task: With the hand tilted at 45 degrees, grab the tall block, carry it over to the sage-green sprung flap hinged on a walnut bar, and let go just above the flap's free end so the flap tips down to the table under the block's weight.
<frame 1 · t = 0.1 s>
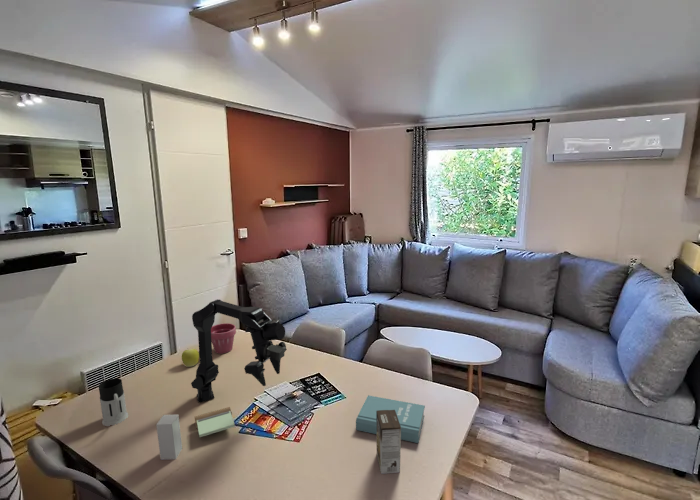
hand: (271, 379, 140), 15 cm above the table, tool pointing down, fingers open, 9 cm apart
apple: (191, 365, 185), on the table
block: (171, 453, 124), on the table
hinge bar: (213, 420, 141), on the table
trapdoor: (215, 423, 134), point 3 cm above the table, hinge at 0.0°
plant pot: (223, 350, 200), on the table
glass holder: (117, 422, 141), on the table
book: (391, 424, 138), on the table
coffee box: (387, 463, 119), on the table
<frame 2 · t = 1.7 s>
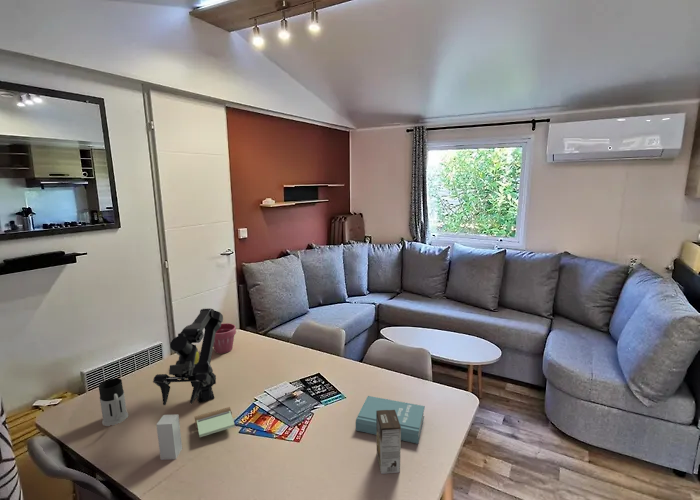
hand: (177, 404, 129), 13 cm above the table, tool tilted 45°, fingers open, 9 cm apart
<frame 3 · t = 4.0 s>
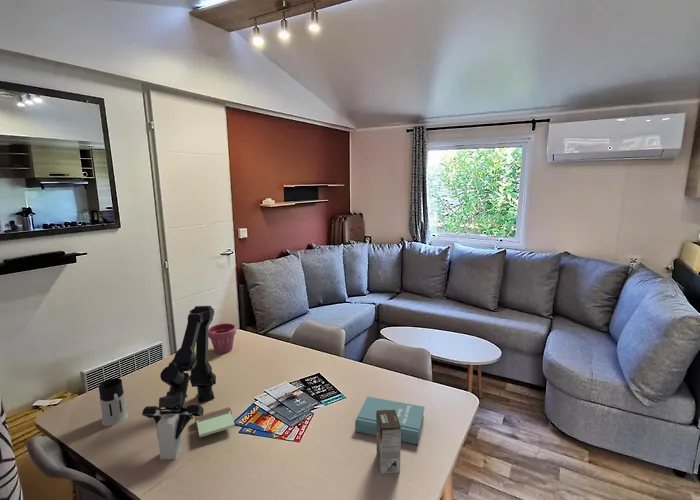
hand: (167, 439, 121), 7 cm above the table, tool tilted 45°, fingers closed on block, 5 cm apart
block: (171, 453, 124), on the table, touching gripper
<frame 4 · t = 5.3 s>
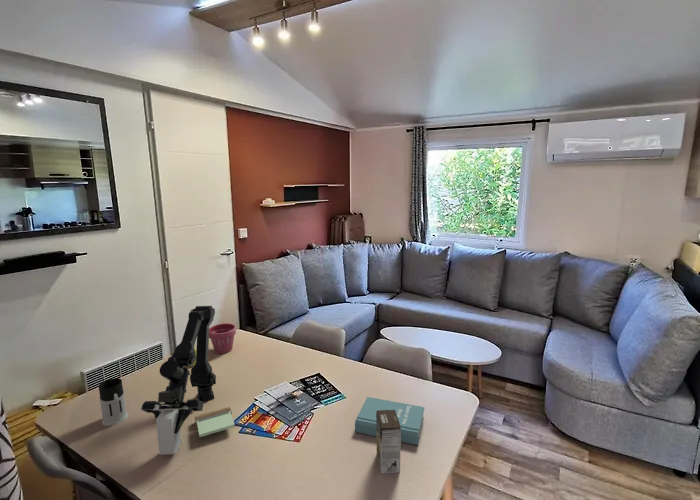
hand: (167, 434, 121), 9 cm above the table, tool tilted 45°, fingers closed on block, 5 cm apart
block: (170, 448, 124), point 2 cm above the table, touching gripper
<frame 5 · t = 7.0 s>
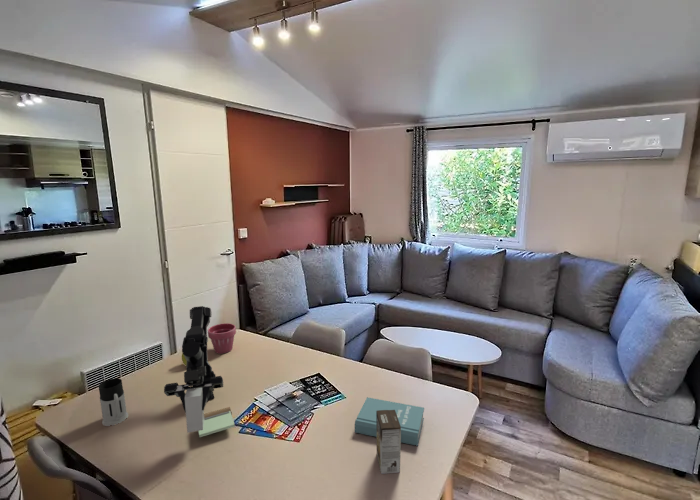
hand: (194, 411, 125), 13 cm above the table, tool tilted 45°, fingers closed on block, 5 cm apart
block: (196, 426, 127), point 7 cm above the table, touching gripper
when the fingers open (11 cm above the table, at t = 8.9 s): block drops 3 cm, resting on trapdoor.
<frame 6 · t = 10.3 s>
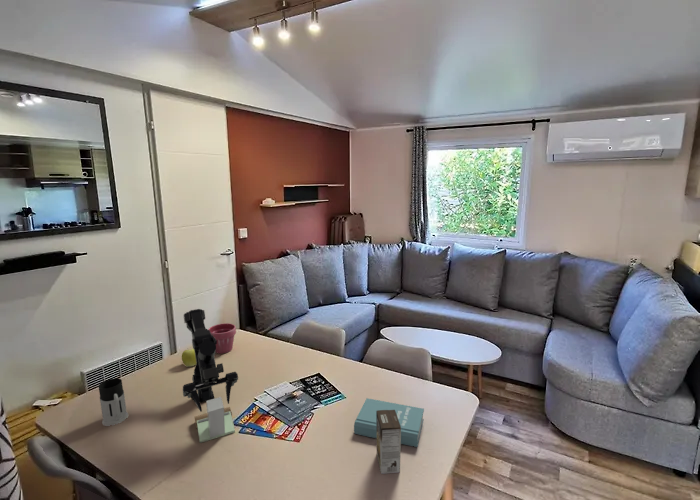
hand: (215, 407, 130), 12 cm above the table, tool tilted 45°, fingers open, 9 cm apart
block: (216, 430, 133), point 2 cm above the table, tilted 16°, touching trapdoor
trapdoor: (215, 426, 135), point 2 cm above the table, hinge at -16.1°, touching block
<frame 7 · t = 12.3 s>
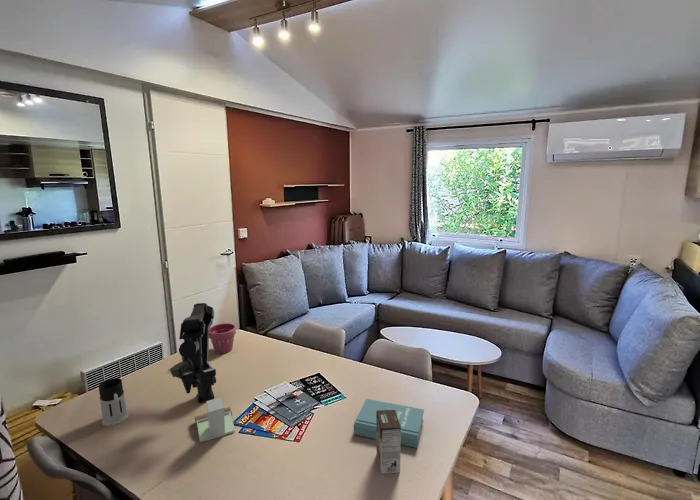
hand: (195, 394, 137), 12 cm above the table, tool tilted 15°, fingers open, 9 cm apart
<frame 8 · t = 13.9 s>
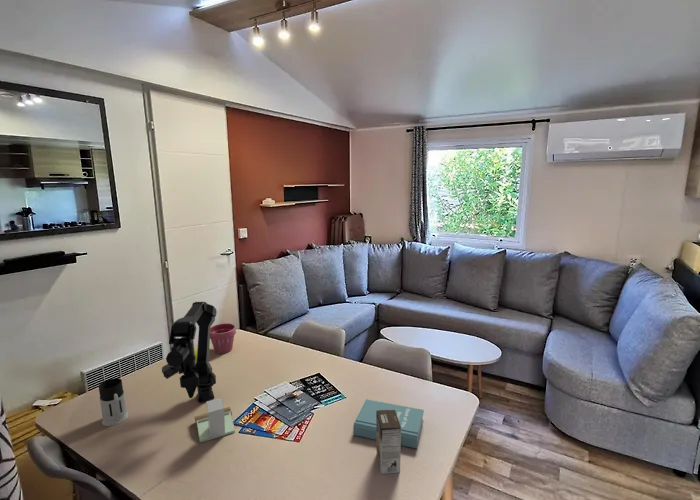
hand: (190, 391, 139), 12 cm above the table, tool pointing down, fingers open, 9 cm apart
at the end: block point 1.5 cm above the table; trapdoor at -16° (first picture: +0°); the gripper is holding nothing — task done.
